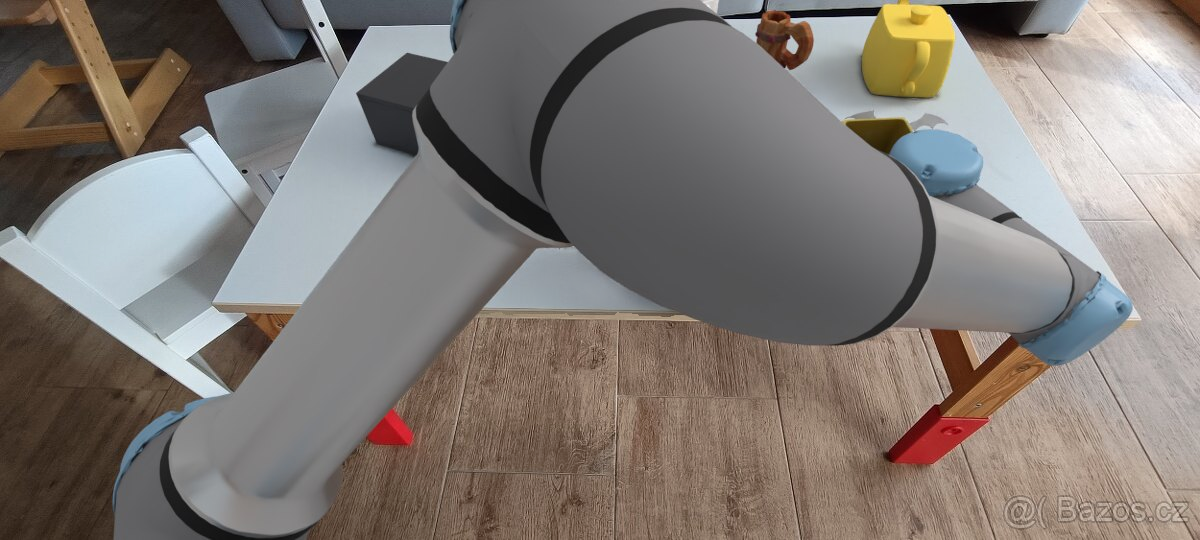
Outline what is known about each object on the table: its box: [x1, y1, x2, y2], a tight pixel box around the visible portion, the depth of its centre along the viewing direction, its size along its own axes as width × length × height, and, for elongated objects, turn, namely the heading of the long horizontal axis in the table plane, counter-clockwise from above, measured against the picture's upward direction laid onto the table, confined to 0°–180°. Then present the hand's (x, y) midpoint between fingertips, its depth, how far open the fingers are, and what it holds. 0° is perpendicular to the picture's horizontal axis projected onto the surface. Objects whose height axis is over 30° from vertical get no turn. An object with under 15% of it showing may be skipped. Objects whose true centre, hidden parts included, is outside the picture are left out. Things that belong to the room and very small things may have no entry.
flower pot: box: [841, 116, 914, 155], centre depth 82 cm, size 9×9×9 cm
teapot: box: [861, 0, 956, 98], centre depth 99 cm, size 20×12×12 cm, turn 170°
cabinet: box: [355, 52, 449, 157], centre depth 95 cm, size 15×13×10 cm
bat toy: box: [844, 109, 949, 132], centre depth 90 cm, size 3×15×5 cm, turn 81°
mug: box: [755, 9, 815, 71], centre depth 101 cm, size 11×6×11 cm, turn 41°
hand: (605, 186), depth 74 cm, fingers closed on beverage can, 6 cm apart
